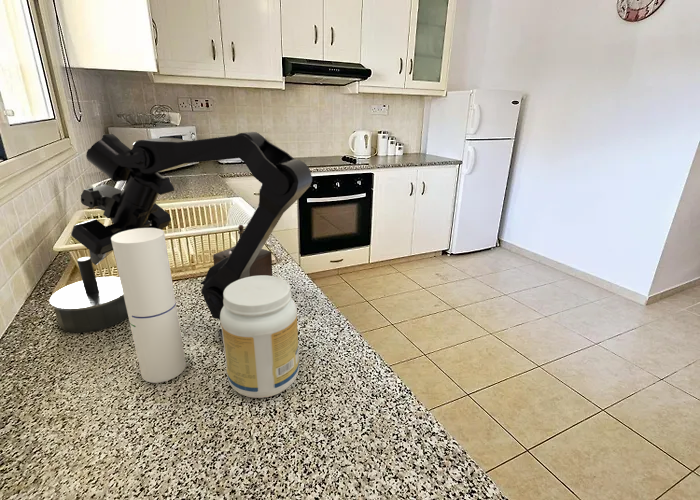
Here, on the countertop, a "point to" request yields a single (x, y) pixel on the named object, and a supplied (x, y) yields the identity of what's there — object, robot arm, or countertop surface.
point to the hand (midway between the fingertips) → (113, 254)
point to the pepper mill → (260, 264)
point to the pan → (92, 317)
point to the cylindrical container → (150, 302)
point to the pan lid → (87, 290)
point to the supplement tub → (260, 335)
